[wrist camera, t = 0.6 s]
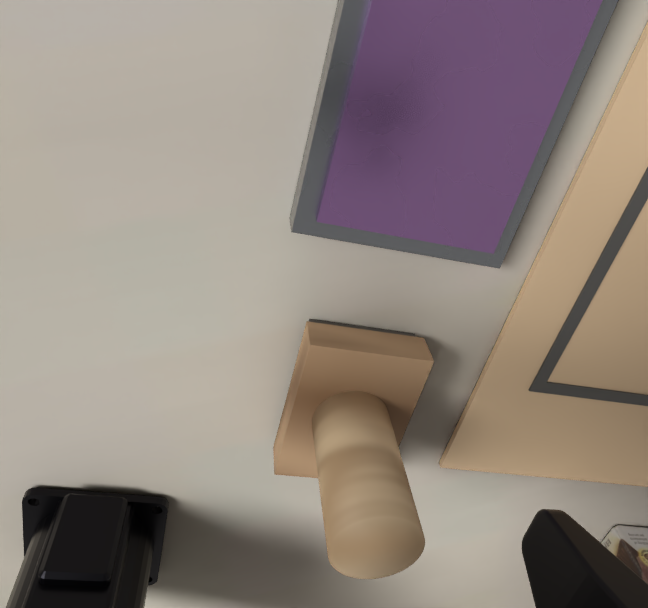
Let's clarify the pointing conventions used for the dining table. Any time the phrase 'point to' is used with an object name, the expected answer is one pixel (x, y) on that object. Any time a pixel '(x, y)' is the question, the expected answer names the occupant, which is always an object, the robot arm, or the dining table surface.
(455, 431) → the stamp board
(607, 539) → the coffee box
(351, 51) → the ink pad
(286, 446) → the stamp
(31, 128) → the dining table surface
